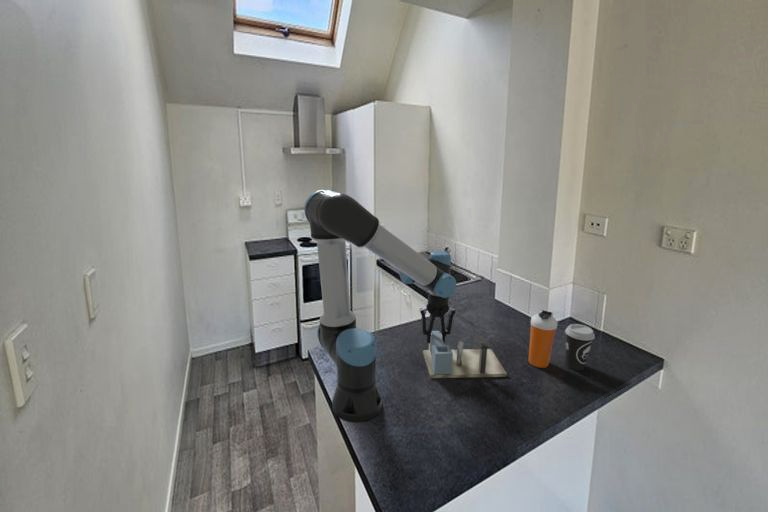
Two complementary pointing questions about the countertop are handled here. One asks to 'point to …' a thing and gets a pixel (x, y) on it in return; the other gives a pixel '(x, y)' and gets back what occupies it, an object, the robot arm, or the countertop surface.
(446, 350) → the link
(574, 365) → the coffee cup
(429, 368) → the board
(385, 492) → the countertop surface
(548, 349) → the shaker bottle
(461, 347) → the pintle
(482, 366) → the post
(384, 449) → the countertop surface
